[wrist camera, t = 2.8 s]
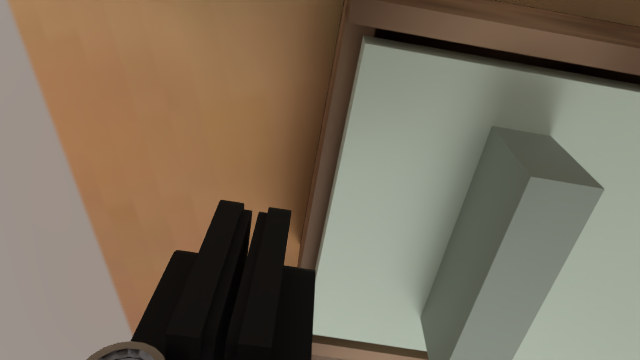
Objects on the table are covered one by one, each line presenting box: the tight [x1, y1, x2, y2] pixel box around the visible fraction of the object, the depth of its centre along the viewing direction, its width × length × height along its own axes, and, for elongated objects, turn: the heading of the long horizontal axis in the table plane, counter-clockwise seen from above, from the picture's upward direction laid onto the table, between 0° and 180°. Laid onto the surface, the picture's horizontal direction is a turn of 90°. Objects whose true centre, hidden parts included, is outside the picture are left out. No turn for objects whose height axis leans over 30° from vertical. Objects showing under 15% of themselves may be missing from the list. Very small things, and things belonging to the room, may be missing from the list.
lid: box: [313, 35, 640, 360], centre depth 13 cm, size 15×10×4 cm, turn 81°
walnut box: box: [297, 0, 640, 360], centre depth 17 cm, size 16×12×6 cm
